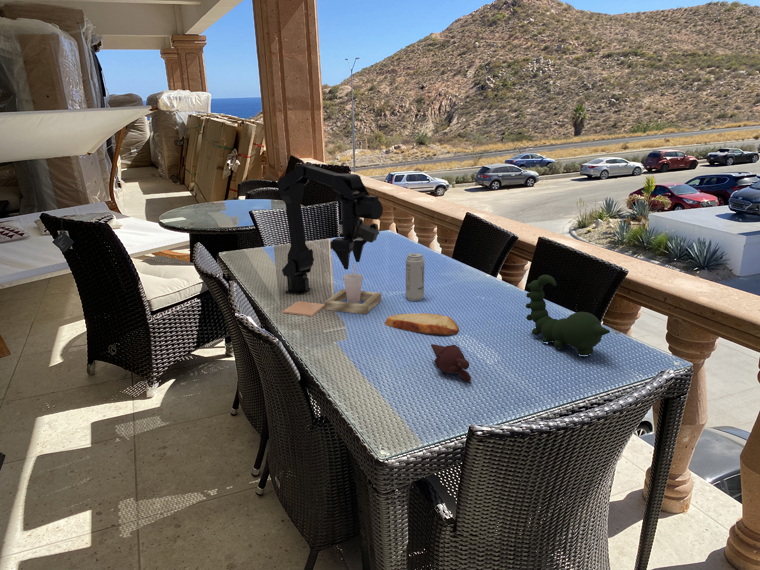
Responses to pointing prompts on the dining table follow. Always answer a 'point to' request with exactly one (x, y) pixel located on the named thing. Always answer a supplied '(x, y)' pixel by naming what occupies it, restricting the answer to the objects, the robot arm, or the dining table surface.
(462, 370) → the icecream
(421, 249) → the dining table surface
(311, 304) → the coaster
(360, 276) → the smoothie
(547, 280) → the toy figurine
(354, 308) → the holder
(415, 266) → the energy drink can
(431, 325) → the slice of bread
